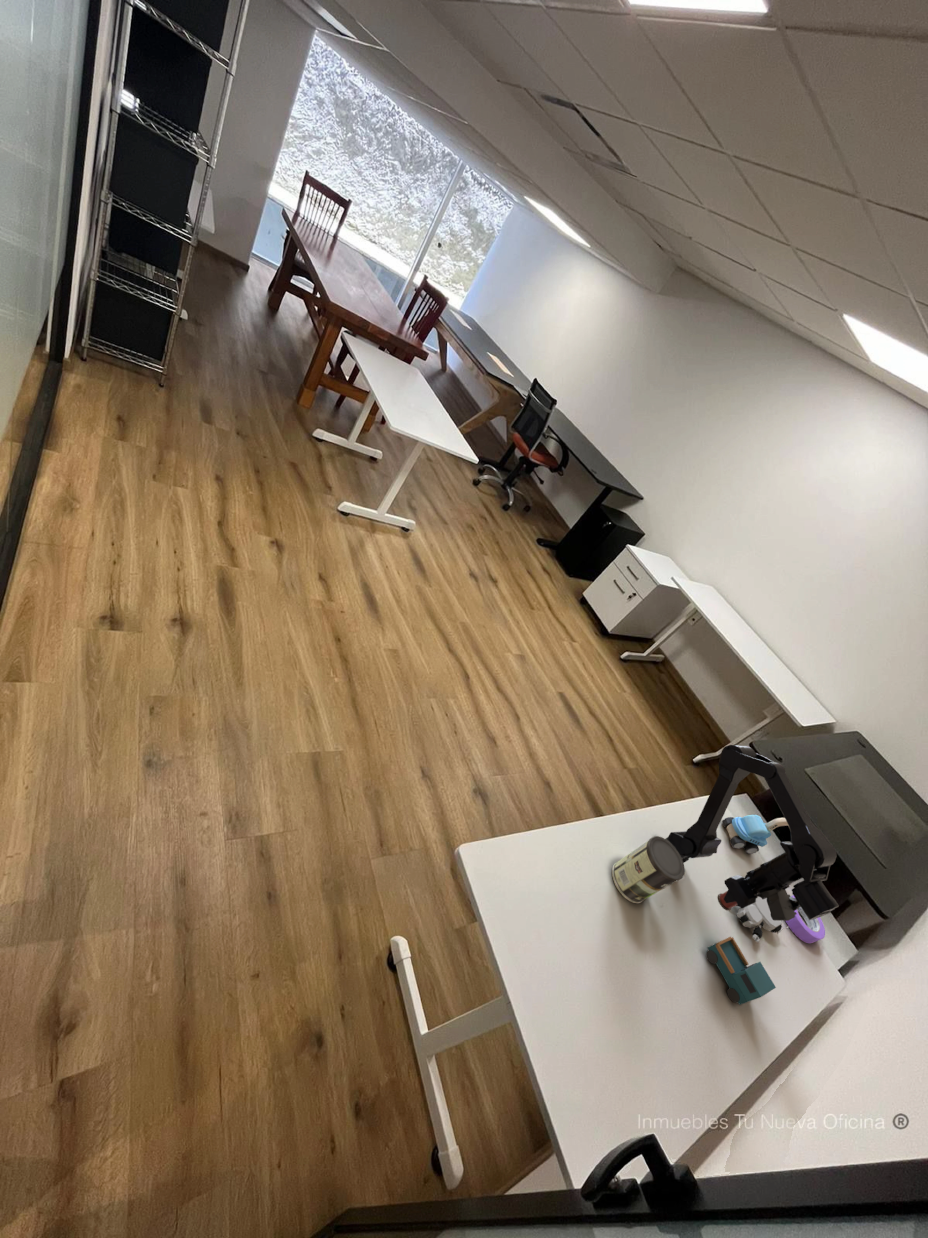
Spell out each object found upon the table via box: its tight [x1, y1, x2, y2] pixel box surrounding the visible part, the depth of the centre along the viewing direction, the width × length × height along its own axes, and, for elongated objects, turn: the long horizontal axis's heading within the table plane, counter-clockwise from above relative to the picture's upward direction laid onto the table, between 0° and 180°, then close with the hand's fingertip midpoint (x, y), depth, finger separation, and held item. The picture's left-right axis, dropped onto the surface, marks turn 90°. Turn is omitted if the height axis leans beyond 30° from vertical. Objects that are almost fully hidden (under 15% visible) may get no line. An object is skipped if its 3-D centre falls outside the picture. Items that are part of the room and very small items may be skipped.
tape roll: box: [785, 894, 826, 944], centre depth 153 cm, size 12×12×4 cm
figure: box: [716, 884, 753, 912], centre depth 129 cm, size 4×4×8 cm
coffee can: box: [611, 835, 686, 904], centre depth 129 cm, size 10×10×14 cm
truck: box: [705, 936, 777, 1006], centre depth 126 cm, size 12×7×8 cm, turn 24°
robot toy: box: [735, 897, 789, 943], centre depth 145 cm, size 12×4×15 cm
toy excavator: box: [721, 814, 790, 855], centre depth 163 cm, size 9×17×17 cm, turn 89°
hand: (729, 899), depth 130 cm, fingers closed on figure, 3 cm apart
